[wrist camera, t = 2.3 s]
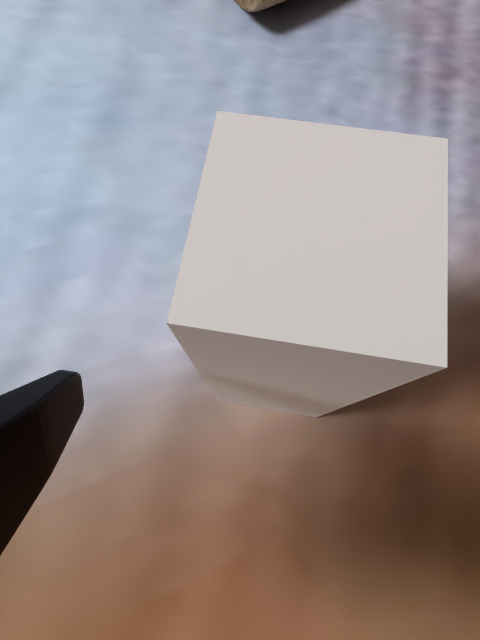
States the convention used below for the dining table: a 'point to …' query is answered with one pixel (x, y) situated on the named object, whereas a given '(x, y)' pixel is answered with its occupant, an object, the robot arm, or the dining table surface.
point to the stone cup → (257, 4)
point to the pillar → (314, 264)
